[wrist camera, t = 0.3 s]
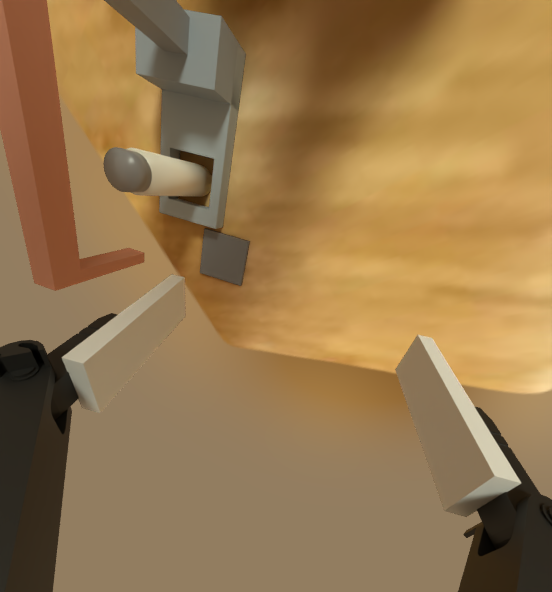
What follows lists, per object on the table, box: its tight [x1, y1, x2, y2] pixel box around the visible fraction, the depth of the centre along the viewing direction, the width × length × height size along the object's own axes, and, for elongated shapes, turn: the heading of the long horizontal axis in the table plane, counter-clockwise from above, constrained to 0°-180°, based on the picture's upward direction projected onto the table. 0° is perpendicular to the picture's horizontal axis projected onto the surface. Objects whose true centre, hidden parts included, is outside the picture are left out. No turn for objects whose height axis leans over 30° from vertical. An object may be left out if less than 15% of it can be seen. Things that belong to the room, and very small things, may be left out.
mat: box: [200, 228, 250, 286], centre depth 41 cm, size 8×8×1 cm
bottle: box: [104, 147, 212, 197], centre depth 31 cm, size 5×5×15 cm
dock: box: [104, 0, 246, 229], centre depth 26 cm, size 22×10×21 cm, turn 166°
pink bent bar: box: [0, 0, 144, 291], centre depth 20 cm, size 26×4×10 cm, turn 166°
